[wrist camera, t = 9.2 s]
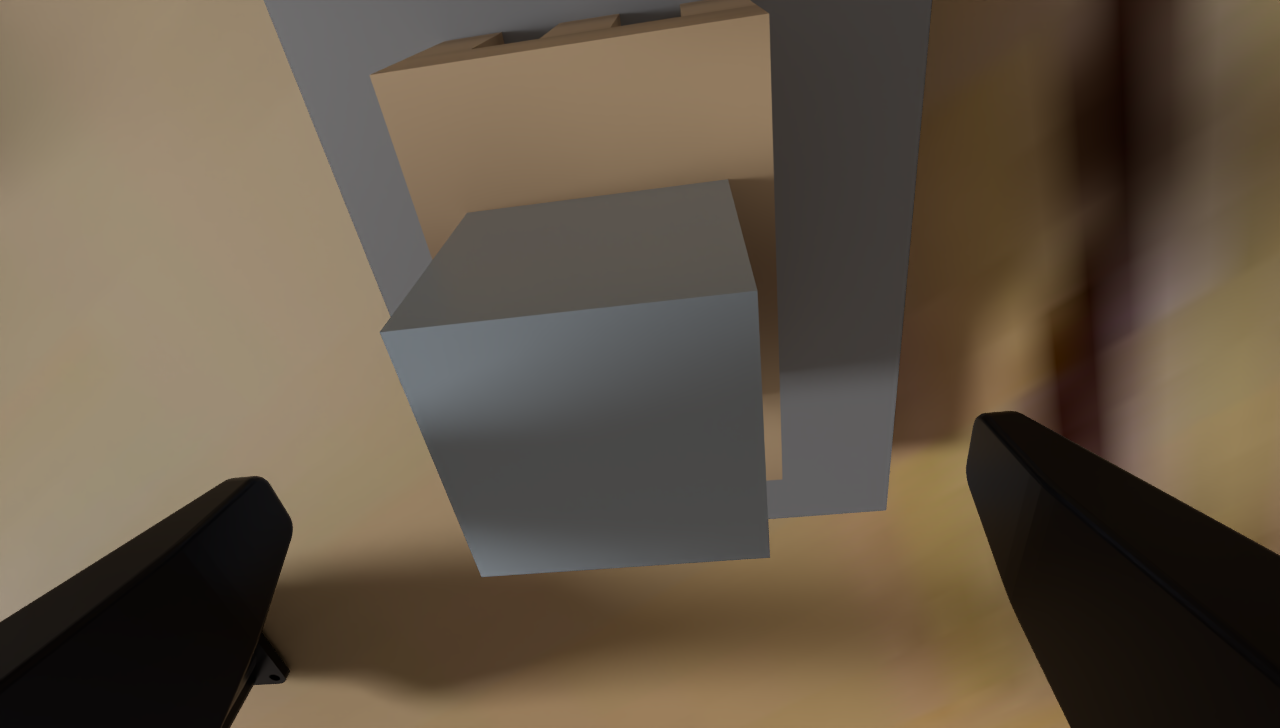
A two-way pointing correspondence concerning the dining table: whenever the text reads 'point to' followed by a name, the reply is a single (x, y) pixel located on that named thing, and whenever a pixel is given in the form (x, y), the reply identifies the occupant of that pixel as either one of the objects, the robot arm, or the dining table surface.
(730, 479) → the grey cube
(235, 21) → the dining table surface
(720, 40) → the pallet
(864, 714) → the dining table surface
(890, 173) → the dock
